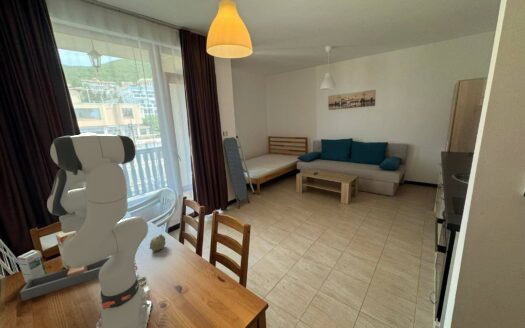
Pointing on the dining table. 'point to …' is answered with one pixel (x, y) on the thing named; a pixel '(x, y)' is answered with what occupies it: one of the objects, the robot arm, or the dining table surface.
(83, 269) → the terracotta block
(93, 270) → the charcoal chute
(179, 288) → the dining table surface
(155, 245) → the beige rough lump
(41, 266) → the syrup box
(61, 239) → the coffeecake box
